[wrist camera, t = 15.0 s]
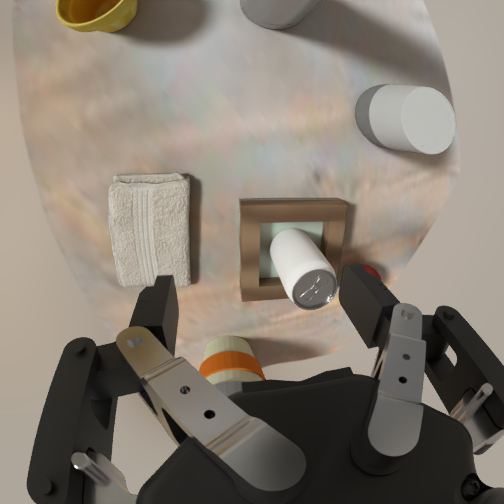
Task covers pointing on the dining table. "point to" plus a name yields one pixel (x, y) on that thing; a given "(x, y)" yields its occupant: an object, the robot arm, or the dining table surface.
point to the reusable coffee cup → (230, 364)
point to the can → (303, 269)
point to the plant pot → (96, 14)
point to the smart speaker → (406, 118)
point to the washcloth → (150, 227)
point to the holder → (275, 221)
